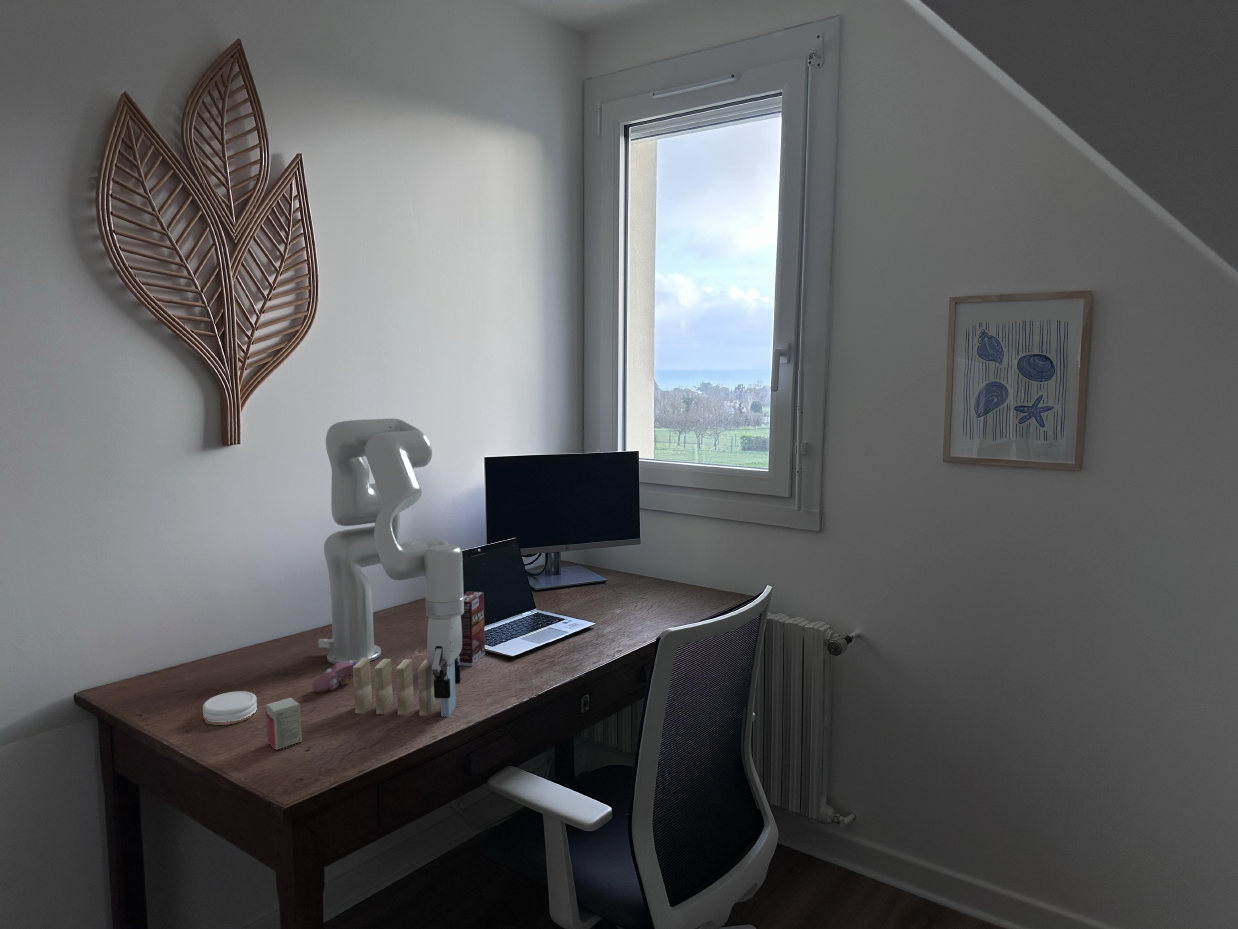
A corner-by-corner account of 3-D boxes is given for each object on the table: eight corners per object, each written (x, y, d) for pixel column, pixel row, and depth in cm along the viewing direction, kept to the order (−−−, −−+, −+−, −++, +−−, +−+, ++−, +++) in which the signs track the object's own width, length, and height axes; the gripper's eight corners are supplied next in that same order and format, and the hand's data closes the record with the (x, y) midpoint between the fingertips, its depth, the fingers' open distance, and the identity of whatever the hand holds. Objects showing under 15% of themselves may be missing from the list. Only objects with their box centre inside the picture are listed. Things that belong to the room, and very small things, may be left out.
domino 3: (397, 715, 165) (396, 668, 164) (406, 705, 170) (404, 659, 169) (405, 715, 165) (403, 668, 164) (413, 705, 170) (411, 659, 169)
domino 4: (419, 716, 165) (417, 669, 163) (427, 705, 170) (425, 659, 168) (427, 716, 165) (425, 669, 163) (434, 705, 170) (433, 660, 168)
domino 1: (355, 714, 166) (352, 667, 164) (364, 703, 171) (362, 658, 169) (362, 714, 166) (360, 667, 164) (372, 704, 171) (370, 658, 169)
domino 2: (376, 714, 165) (374, 667, 164) (385, 704, 170) (383, 658, 169) (384, 714, 165) (382, 668, 164) (392, 704, 170) (390, 659, 169)
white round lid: (253, 723, 162) (252, 707, 161) (198, 730, 159) (197, 713, 159) (260, 703, 171) (259, 688, 171) (208, 709, 169) (207, 693, 168)
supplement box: (473, 667, 191) (471, 602, 189) (454, 665, 192) (452, 600, 190) (486, 654, 199) (484, 591, 197) (468, 652, 200) (466, 590, 198)
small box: (293, 735, 156) (291, 696, 155) (302, 743, 153) (300, 703, 152) (266, 743, 153) (264, 704, 152) (275, 751, 150) (272, 711, 149)
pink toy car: (322, 702, 175) (330, 677, 173) (309, 689, 177) (317, 664, 175) (357, 686, 184) (366, 662, 181) (345, 674, 186) (353, 650, 183)
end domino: (441, 716, 164) (439, 669, 163) (448, 706, 169) (447, 660, 168) (448, 716, 164) (447, 669, 163) (455, 706, 169) (454, 660, 168)
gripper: (439, 593, 173) (442, 673, 175) (412, 619, 156) (416, 707, 158) (474, 594, 172) (476, 674, 174) (451, 620, 155) (453, 708, 157)
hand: (447, 689), depth 166 cm, fingers open, 6 cm apart
